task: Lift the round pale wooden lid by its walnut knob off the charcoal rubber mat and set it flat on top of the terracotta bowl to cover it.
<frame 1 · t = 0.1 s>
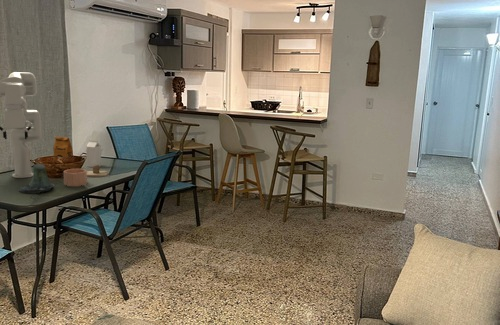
hand: (15, 138, 237), 31 cm above the table, fingers open, 9 cm apart
mat: (96, 175, 294), on the table
tree stump: (37, 190, 254), on the table
coffee package: (64, 167, 312), on the table
lid: (96, 174, 294), resting on mat
milk carton: (94, 166, 320), on the table
bowl: (75, 183, 271), on the table
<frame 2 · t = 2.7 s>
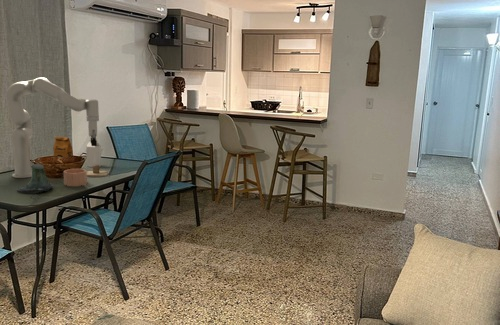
hand: (93, 144, 289), 21 cm above the table, fingers open, 9 cm apart
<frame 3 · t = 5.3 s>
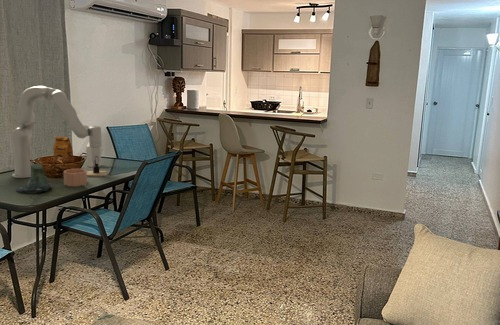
hand: (96, 171, 294), 3 cm above the table, fingers closed on lid, 4 cm apart
lid: (96, 174, 294), resting on mat, touching gripper
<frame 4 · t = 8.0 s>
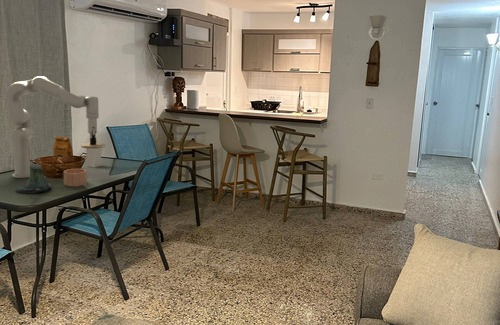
hand: (93, 143, 287), 22 cm above the table, fingers closed on lid, 4 cm apart
lid: (93, 146, 288), point 20 cm above the table, touching gripper
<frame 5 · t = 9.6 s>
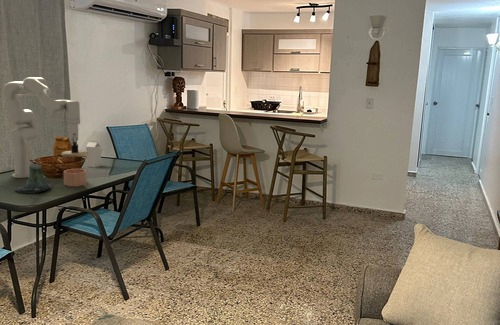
hand: (74, 151, 267), 20 cm above the table, fingers closed on lid, 4 cm apart
lid: (75, 154, 267), point 18 cm above the table, touching gripper
when the fingers open (12 cm above the table, at t = 11.0 s): lid drops 2 cm, resting on bowl.
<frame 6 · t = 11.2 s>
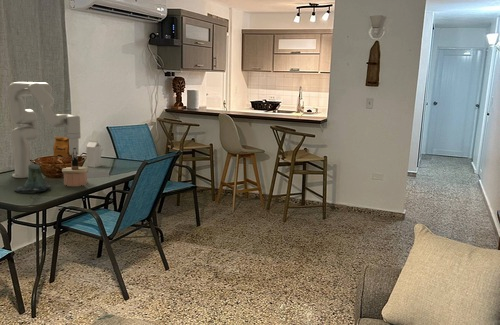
hand: (74, 164, 268), 12 cm above the table, fingers open, 6 cm apart
lid: (75, 171, 269), point 8 cm above the table, touching bowl
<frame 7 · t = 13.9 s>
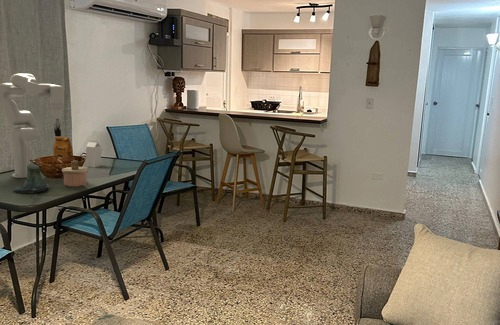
hand: (57, 134, 263), 30 cm above the table, fingers open, 9 cm apart
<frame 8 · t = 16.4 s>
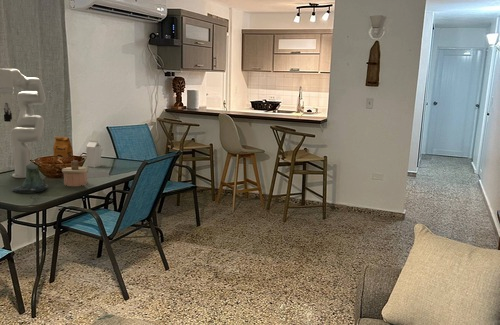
hand: (8, 120, 256), 38 cm above the table, fingers open, 9 cm apart
at the end: lid 0.1 cm off-centre on the bowl, point 8.0 cm above the bowl's base; lid tilted 0°; the gripper is holding nothing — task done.
